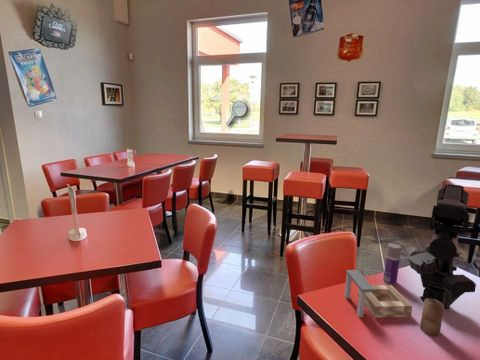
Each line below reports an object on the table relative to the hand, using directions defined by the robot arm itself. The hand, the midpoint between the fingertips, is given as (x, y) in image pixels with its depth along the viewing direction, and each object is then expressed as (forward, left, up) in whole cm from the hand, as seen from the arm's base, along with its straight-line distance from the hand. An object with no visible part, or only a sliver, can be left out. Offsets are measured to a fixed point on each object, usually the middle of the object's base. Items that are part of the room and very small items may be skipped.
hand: (435, 296), depth 85 cm
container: (-3, -27, -11) cm, 29 cm away
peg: (0, 0, -11) cm, 11 cm away
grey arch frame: (+17, -12, -11) cm, 24 cm away
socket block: (+8, -12, -11) cm, 18 cm away
